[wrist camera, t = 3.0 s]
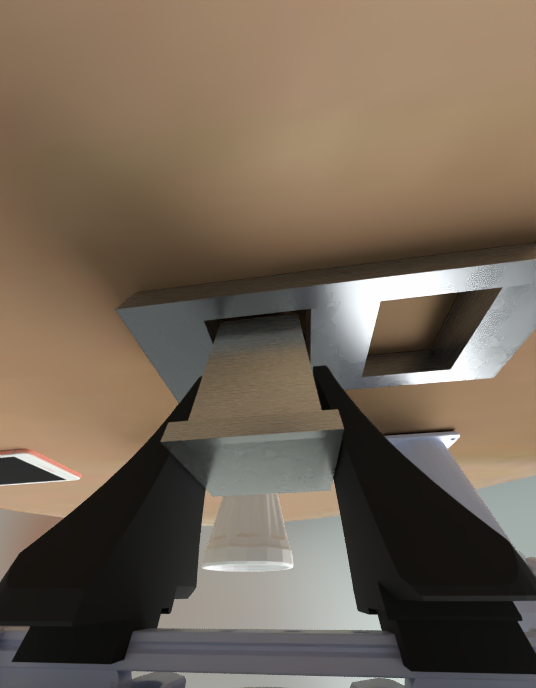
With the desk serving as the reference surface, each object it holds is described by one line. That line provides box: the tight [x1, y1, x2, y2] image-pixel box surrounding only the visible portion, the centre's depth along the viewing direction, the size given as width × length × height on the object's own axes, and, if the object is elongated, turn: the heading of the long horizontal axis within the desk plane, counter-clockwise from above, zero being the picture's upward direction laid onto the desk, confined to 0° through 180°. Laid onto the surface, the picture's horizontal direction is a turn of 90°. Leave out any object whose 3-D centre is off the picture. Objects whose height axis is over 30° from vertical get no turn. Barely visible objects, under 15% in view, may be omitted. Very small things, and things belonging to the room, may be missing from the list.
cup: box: [201, 493, 293, 571], centre depth 25 cm, size 10×10×9 cm
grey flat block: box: [115, 243, 536, 403], centre depth 13 cm, size 8×22×2 cm, turn 97°
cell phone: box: [0, 449, 82, 486], centre depth 28 cm, size 9×18×1 cm, turn 100°
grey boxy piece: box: [161, 313, 344, 497], centre depth 10 cm, size 5×5×7 cm
